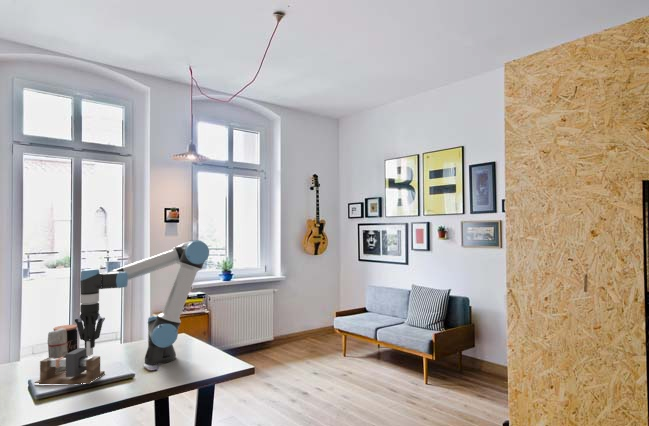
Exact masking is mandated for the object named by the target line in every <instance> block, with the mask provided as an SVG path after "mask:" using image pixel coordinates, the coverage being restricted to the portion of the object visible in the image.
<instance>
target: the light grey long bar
mask: <svg viewBox="0 0 649 426" xmlns="http://www.w3.org/2000/svg"><path fill="white" fill-rule="evenodd" d="M92 357H93V358H94V356H88V357H84V358H79V366H86V360H88V359H90V358H92ZM49 367H56V368H59V367H66V358H64V357H60V358H51V359H50V360H49Z"/></svg>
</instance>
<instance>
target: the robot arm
mask: <svg viewBox="0 0 649 426" xmlns="http://www.w3.org/2000/svg"><path fill="white" fill-rule="evenodd" d="M209 256H210V248H209V246H208V245H207V244H206V243H205V242H204V241H202V240H198V239H194V240H193V239H191V240H188V241H185V242H183V243H181V244H179V245H177V246H174V247H172V249H171V250H168V251H164V252H162V253H159V254H157V255H154V256H151V257H150V256H149V257H148V258H144V259H142V260H138V261H134V262H133V263H129V264H127V265H124V266H122V267H119V268H115V269H114V268H113V269H110V270H108V271H107V272H100V269H99V268H87V269H86V268H85V269H82V270H80V279H79V281H80V283H79V284H80V287H79V288H80V289H79V290H80V291H79V292H80V297H79V299H80V308H79V311H80V312H79V313H80V315H79V317H77V318H76V319H74V323H75V325H77V333H78V336H79V339H80V341H84V348H86V356H88V357H92V356H94V348H95V346H96V340H98V339H100V335H101V332H102V328H103V323H104V322H105V320H106V318H105V317H102V316H101V315H100V302H99V301H100V290H107V289H122V288H126V287H128V284H129V283H128V281H130V280H133V279H136V278H139V277H142V276H145V275H147V274H150V273H154V272H156V271H159V270H162V269H165V268H168V267H170V266H173V265H176V264H177V265H179V266H180V267H179V269H178V273H177V275H176V277H175V280H174V282H173V284H172V288H171V289H170V292H169V294H168V297H167V299H166V302H165V305H164V307H163V310H162V312H161V313H158V314H157V315H151V316H148V318H147V326H148V327H147V338H148V340H147V350H146V352H145V355H144V363H145V364H147V365H162V364H167V363H171V362H173V361H175V360H176V358H177V354H176V350H175V348H174V343H175V342H176V341H177V340H178V336H179V335H178V334H179V329H180V325H181V323H182V321H181V319H180V318H181V314H182V312H183V310H184V308H185V307H184V306H185V304H186V302H187V300H188V296H189V294H190V291H191V289H192V286H193V283H194V281H195V278H196V276H197V273H198V272H199V271H201V270H202V269H203V266H204V264H205V262H206V261H208V258H209Z"/></svg>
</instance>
